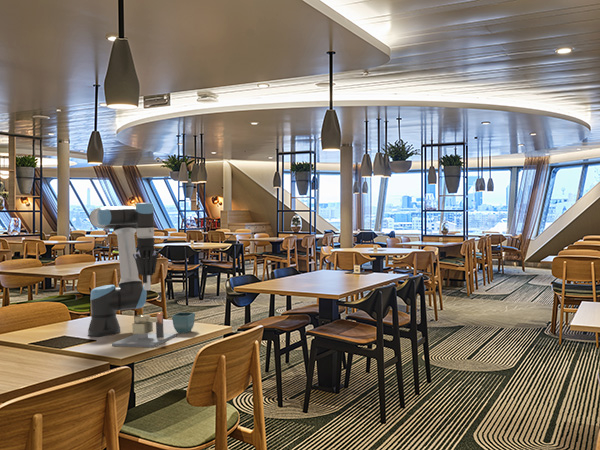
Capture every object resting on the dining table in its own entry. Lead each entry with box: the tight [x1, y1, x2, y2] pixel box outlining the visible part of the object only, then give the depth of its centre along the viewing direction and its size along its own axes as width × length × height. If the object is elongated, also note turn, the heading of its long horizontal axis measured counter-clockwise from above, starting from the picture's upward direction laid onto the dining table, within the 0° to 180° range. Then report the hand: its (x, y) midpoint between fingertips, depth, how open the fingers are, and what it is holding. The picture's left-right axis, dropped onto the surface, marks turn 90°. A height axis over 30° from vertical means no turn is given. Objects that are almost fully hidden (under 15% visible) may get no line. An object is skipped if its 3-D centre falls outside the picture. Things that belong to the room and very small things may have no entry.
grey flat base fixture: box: [111, 315, 177, 348], centre depth 256 cm, size 20×22×11 cm
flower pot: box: [171, 311, 196, 334], centre depth 273 cm, size 9×9×9 cm
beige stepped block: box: [131, 312, 164, 335], centre depth 255 cm, size 14×7×9 cm, turn 69°
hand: (147, 289), depth 250 cm, fingers closed
